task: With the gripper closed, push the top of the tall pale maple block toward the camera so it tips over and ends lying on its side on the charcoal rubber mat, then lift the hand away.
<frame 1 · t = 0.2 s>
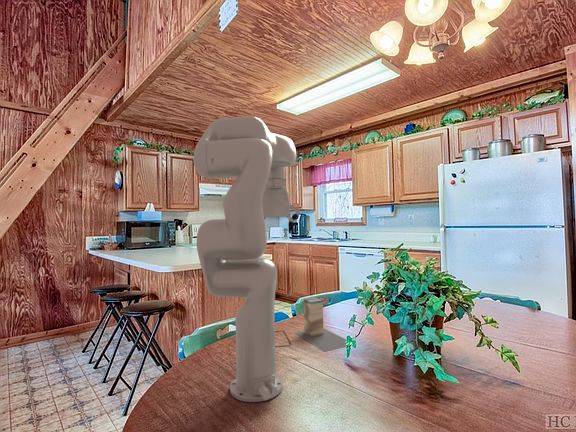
hand: (276, 233, 111), 37 cm above the table, tool pointing down, fingers open, 9 cm apart
rubber mat: (323, 340, 108), on the table
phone: (276, 342, 109), on the table
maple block: (313, 333, 113), point 1 cm above the table, touching rubber mat
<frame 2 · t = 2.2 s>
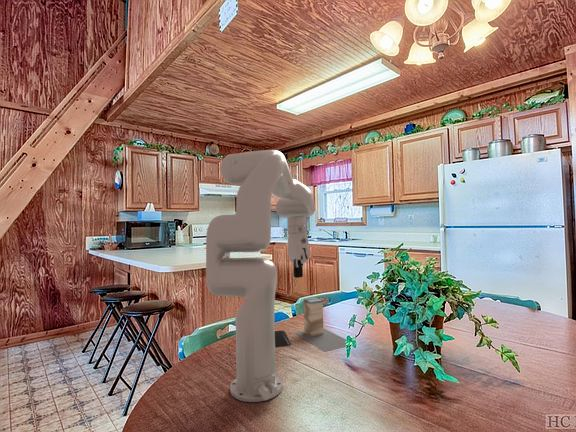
hand: (298, 277, 124), 19 cm above the table, tool pointing down, fingers closed
nothing on the table moved.
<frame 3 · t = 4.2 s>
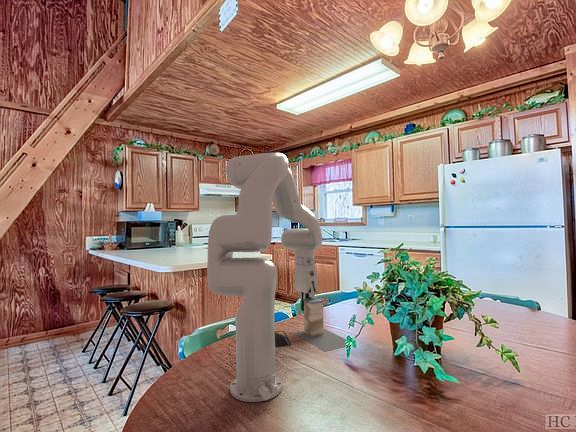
hand: (305, 310, 118), 8 cm above the table, tool pointing down, fingers closed
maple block: (313, 333, 113), point 1 cm above the table, touching gripper, rubber mat
everything else where it was.
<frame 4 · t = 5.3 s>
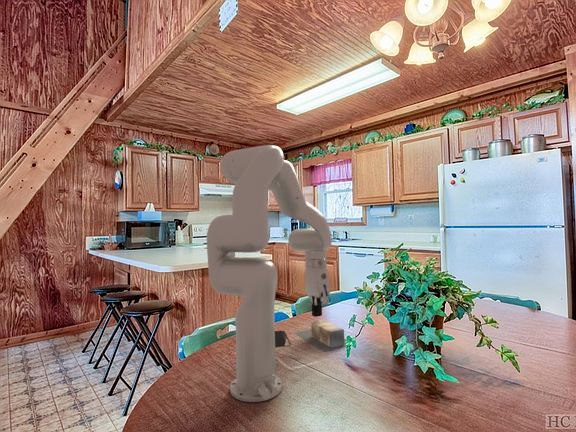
hand: (317, 315, 111), 7 cm above the table, tool pointing down, fingers closed
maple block: (317, 328, 111), point 3 cm above the table, tilted 90°, touching rubber mat
everything else where it was.
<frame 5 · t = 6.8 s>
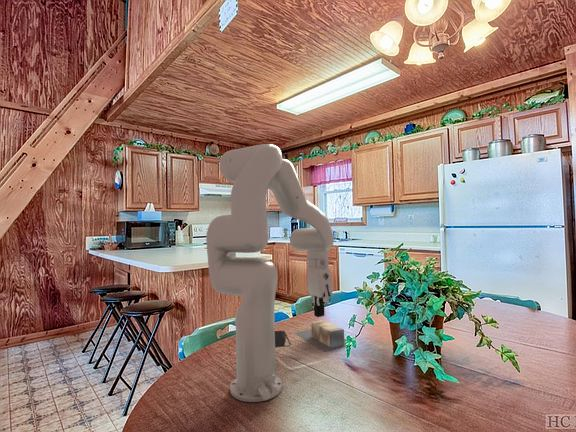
hand: (319, 315, 110), 8 cm above the table, tool pointing down, fingers closed
nothing on the table moved.
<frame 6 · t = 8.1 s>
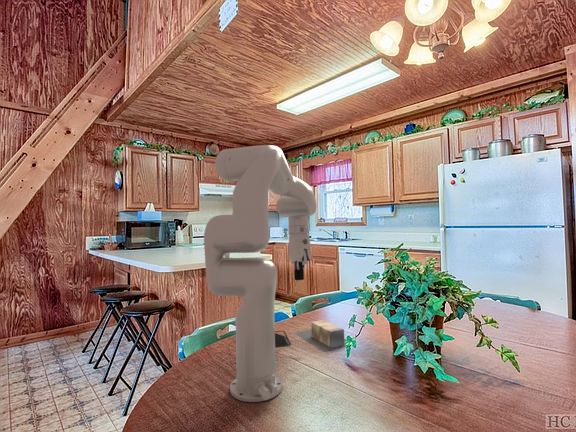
hand: (299, 279, 118), 19 cm above the table, tool pointing down, fingers closed
nothing on the table moved.
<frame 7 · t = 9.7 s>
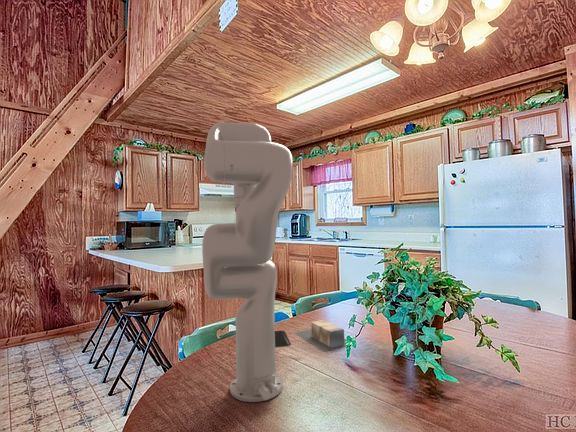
hand: (246, 257, 106), 29 cm above the table, tool pointing down, fingers closed
nothing on the table moved.
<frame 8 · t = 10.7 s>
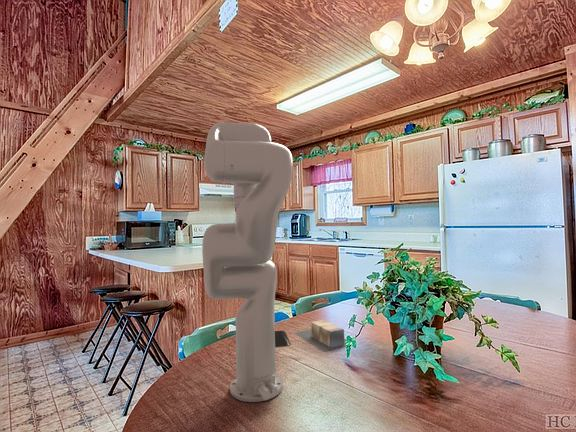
hand: (246, 257, 106), 29 cm above the table, tool pointing down, fingers closed
nothing on the table moved.
at the end: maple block tilted 90°; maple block inside the target area on the rubber mat (3.5 cm from its centre), point 3.1 cm above the rubber mat's base; the gripper is holding nothing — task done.
